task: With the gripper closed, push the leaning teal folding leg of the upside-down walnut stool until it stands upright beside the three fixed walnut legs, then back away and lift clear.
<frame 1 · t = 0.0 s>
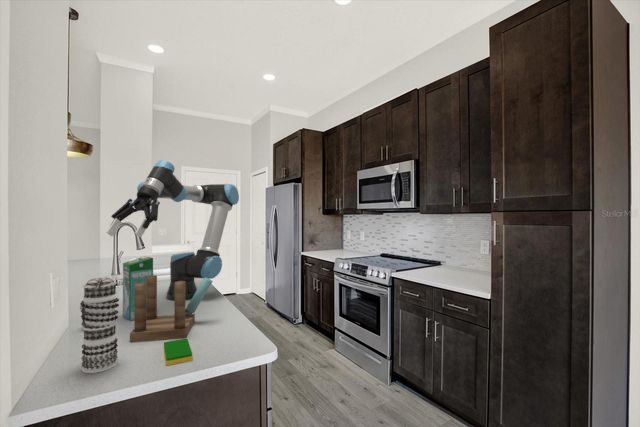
hand: (123, 234, 119), 36 cm above the counter, tool tilted 35°, fingers open, 13 cm apart
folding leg: (199, 295, 128), point 11 cm above the counter, hinge at 30.0°
food container: (100, 326, 125), on the counter
dish sponge: (177, 355, 100), on the counter
decorative candle: (100, 366, 92), on the counter
milk carton: (137, 316, 137), on the counter
walnut stool: (165, 330, 119), on the counter
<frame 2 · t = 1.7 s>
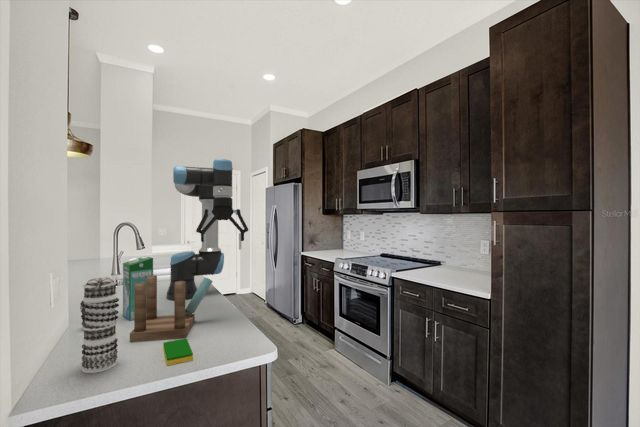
hand: (222, 249, 129), 29 cm above the counter, tool pointing down, fingers open, 13 cm apart
nothing on the counter moved.
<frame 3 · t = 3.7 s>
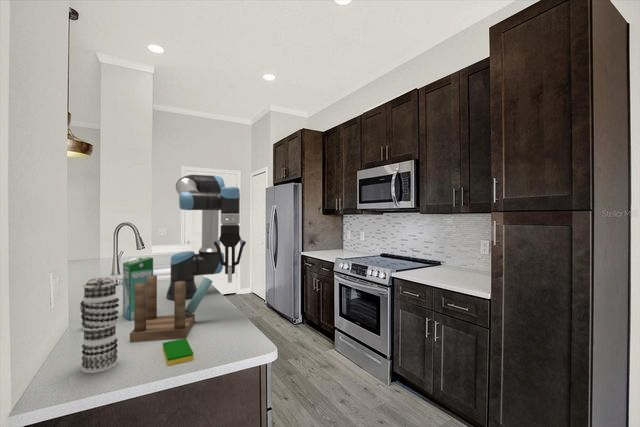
hand: (229, 281, 131), 16 cm above the counter, tool pointing down, fingers closed
nothing on the counter moved.
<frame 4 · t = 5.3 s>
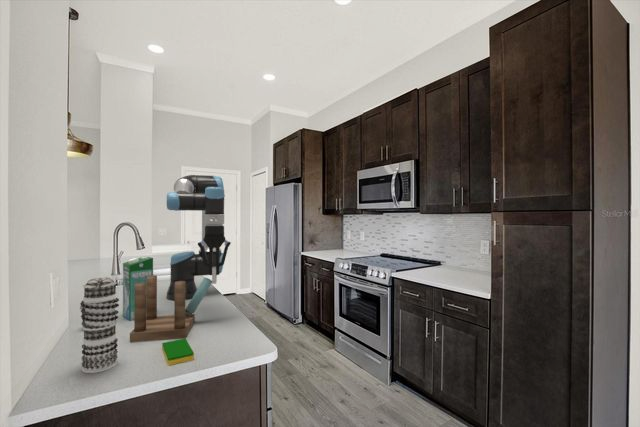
hand: (214, 282, 129), 16 cm above the counter, tool pointing down, fingers closed
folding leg: (199, 295, 128), point 11 cm above the counter, hinge at 30.0°, touching gripper
everything else where it was.
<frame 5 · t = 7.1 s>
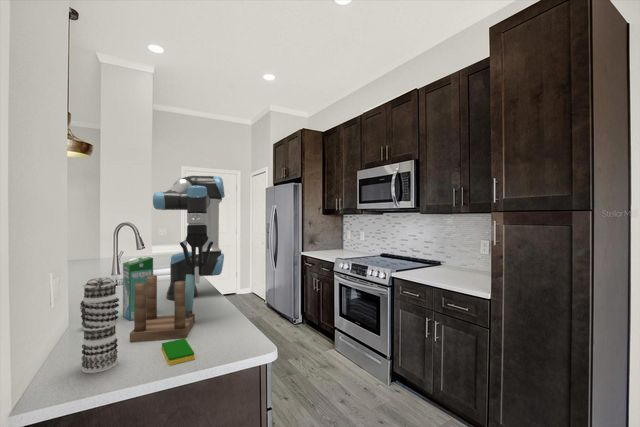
hand: (197, 282, 128), 16 cm above the counter, tool pointing down, fingers closed
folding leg: (189, 292, 127), point 12 cm above the counter, hinge at 4.9°, touching gripper
everything else where it was.
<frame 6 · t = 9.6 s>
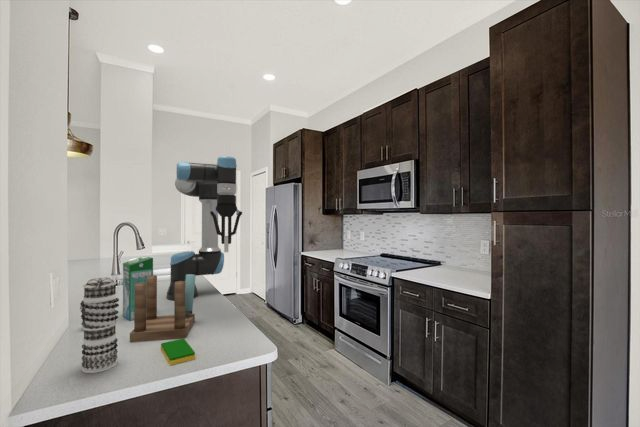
hand: (226, 251, 131), 28 cm above the counter, tool pointing down, fingers closed
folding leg: (189, 292, 127), point 12 cm above the counter, hinge at 4.8°
everything else where it was.
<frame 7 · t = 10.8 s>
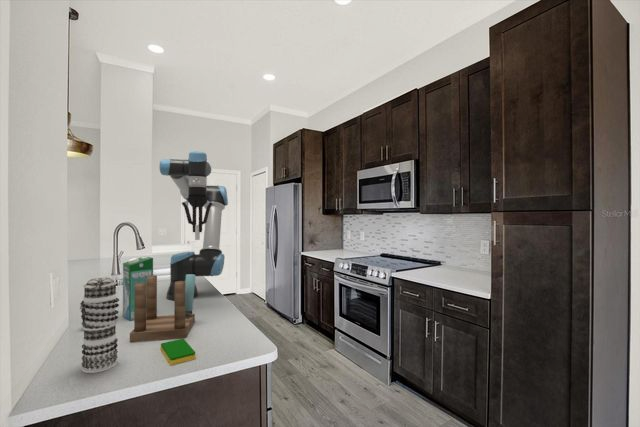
hand: (197, 239, 142), 32 cm above the counter, tool pointing down, fingers closed
nothing on the counter moved.
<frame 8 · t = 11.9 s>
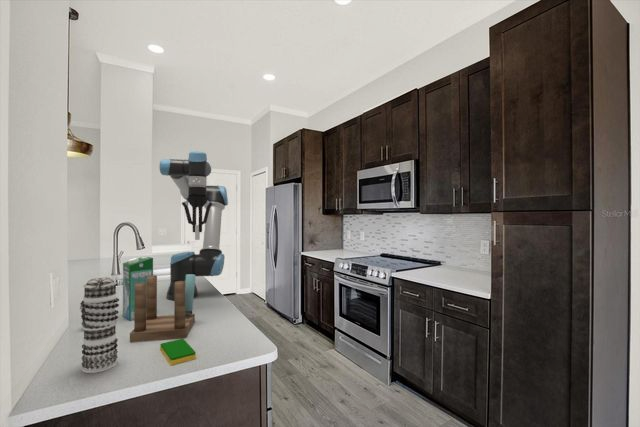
hand: (197, 239, 142), 32 cm above the counter, tool pointing down, fingers closed
nothing on the counter moved.
at the end: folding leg at +5° (first picture: +30°) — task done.
